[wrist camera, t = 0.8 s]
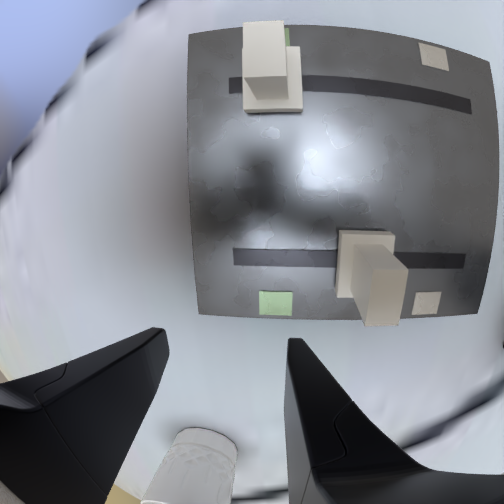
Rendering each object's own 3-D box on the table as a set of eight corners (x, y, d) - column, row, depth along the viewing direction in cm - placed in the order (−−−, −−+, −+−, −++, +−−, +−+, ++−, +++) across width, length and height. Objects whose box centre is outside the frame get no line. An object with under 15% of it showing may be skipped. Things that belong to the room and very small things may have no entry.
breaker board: (475, 68, 13) (489, 61, 11) (465, 302, 18) (477, 314, 16) (198, 45, 16) (188, 33, 14) (207, 301, 21) (198, 314, 19)
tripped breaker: (389, 231, 15) (424, 258, 11) (382, 290, 16) (409, 334, 12) (339, 229, 16) (357, 257, 11) (334, 290, 17) (347, 336, 12)
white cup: (162, 420, 26) (125, 492, 16) (234, 425, 24) (211, 511, 15) (185, 460, 28) (160, 524, 18) (249, 465, 26) (234, 537, 17)
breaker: (299, 53, 13) (300, 11, 8) (302, 112, 14) (306, 87, 9) (244, 54, 14) (225, 15, 9) (246, 113, 15) (225, 91, 10)
